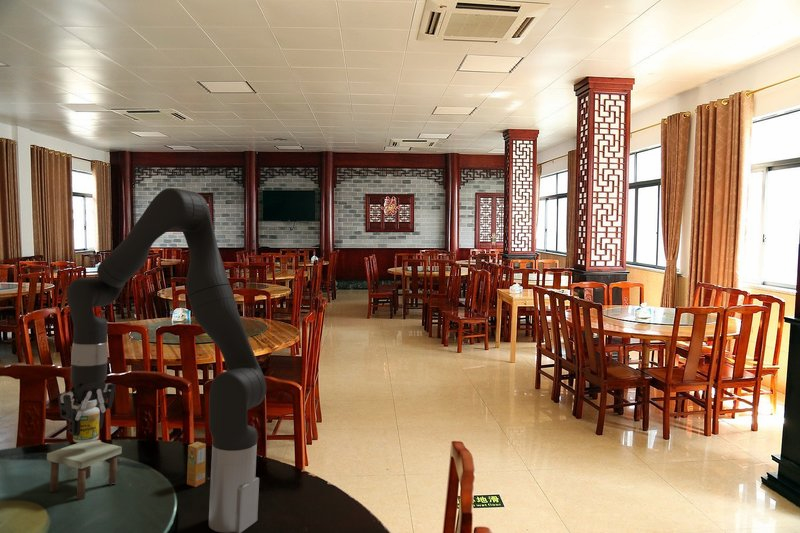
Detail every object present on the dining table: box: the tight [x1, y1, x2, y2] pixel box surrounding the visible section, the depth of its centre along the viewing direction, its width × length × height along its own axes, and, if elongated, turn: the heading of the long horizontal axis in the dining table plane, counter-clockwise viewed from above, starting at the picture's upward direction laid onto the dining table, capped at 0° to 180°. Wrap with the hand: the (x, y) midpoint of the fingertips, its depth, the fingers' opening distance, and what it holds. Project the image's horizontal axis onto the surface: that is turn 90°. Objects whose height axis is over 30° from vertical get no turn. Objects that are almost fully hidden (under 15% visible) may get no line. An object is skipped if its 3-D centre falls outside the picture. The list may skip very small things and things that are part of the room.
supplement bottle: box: [72, 399, 100, 444], centre depth 129 cm, size 5×5×10 cm
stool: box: [46, 440, 123, 501], centre depth 130 cm, size 11×11×9 cm
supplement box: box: [186, 441, 207, 488], centre depth 135 cm, size 3×3×10 cm
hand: (86, 431), depth 129 cm, fingers closed on supplement bottle, 5 cm apart
